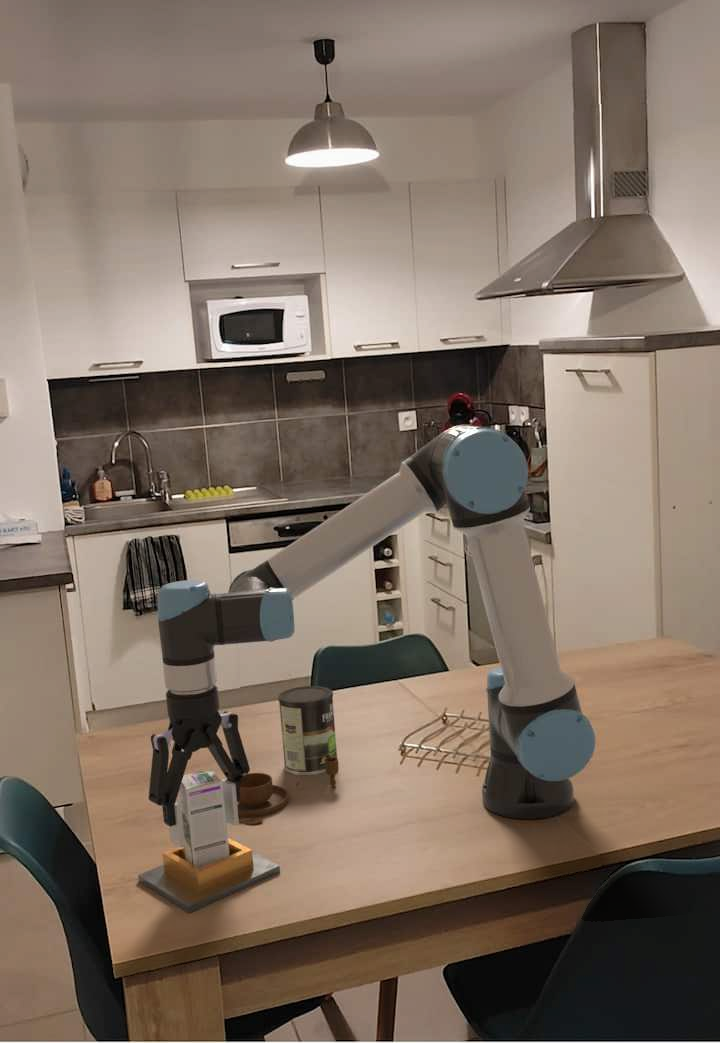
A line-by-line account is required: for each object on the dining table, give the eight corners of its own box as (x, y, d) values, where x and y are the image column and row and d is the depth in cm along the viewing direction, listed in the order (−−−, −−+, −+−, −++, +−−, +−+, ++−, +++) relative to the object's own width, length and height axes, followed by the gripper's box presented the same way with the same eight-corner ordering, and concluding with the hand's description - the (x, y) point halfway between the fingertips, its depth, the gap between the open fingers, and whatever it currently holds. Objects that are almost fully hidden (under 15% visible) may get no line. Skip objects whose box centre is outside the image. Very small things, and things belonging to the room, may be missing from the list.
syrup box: (232, 873, 158) (225, 779, 156) (193, 883, 156) (185, 788, 154) (221, 858, 163) (213, 767, 161) (183, 867, 161) (175, 775, 159)
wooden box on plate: (280, 871, 160) (278, 846, 159) (189, 913, 149) (186, 886, 149) (227, 844, 170) (225, 820, 169) (138, 881, 160) (136, 856, 159)
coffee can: (343, 755, 205) (338, 685, 203) (331, 776, 195) (325, 702, 193) (291, 755, 207) (286, 685, 205) (277, 775, 198) (271, 702, 195)
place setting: (237, 785, 195) (234, 755, 195) (343, 786, 192) (341, 755, 191) (205, 827, 178) (202, 793, 178) (322, 829, 175) (319, 795, 174)
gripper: (237, 665, 165) (249, 803, 168) (112, 701, 151) (128, 850, 154) (266, 673, 159) (278, 816, 163) (139, 711, 146) (155, 866, 149)
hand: (205, 833), depth 159 cm, fingers open, 9 cm apart
